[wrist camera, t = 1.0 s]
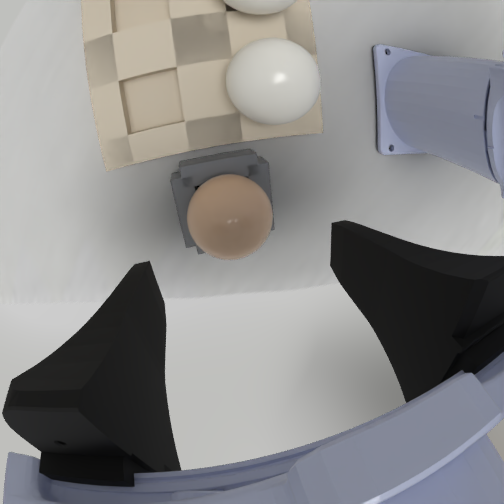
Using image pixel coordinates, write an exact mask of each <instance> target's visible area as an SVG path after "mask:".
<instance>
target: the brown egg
mask: <svg viewBox="0 0 504 504" xmlns="http://www.w3.org/2000/svg"><path fill="white" fill-rule="evenodd" d="M272 221H273V212H272V206H271V203H270V200H269V198H268V196H267V195H266V193H265V192H264V190H263V189H262V188H261V187H260V186H259V185H258V184H257V183H255V182H254V181H252V180H251V179H249V178H247V177H244V176H240V175H235V174H225V175H219V176H216V177H213V178H211V179H209V180H207V181H206V182H205V183H203V184H202V185H201V186H200V187H199V188H198V189H197V190H196V191H195V193H194V195H193V196H192V198H191V200H190V202H189V206H188V211H187V224H188V229H189V232H190V234H191V236H192V238H193V240H194V241H195V243H196V244H197V245H198V246H199V248H201V249H202V250H203V251H204V252H206V253H207V254H209V255H211V256H213V257H216V258H219V259H224V260H235V259H240V258H244V257H246V256H249V255H250V254H252V253H254V252H255V251H257V250H258V249H259V248H260V247H261V246H262V245H263V244H264V242H265V241H266V239H267V237H268V235H269V233H270V231H271V227H272Z"/></svg>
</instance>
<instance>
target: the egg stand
mask: <svg viewBox="0 0 504 504" xmlns="http://www.w3.org/2000/svg"><path fill="white" fill-rule="evenodd" d="M179 168H180V172H176V173H172V175H171V185H172V189H173V194H174V198H175V203H176V207H177V211H178V216H179V220H180V224H181V228H182V232H183V236H184V240H185V244H186V248H188V247H193V246H196V247H197V251H198V254H202V253H206V252H204V251H203V250H202V249H201V248H199V246H198V245H197V244H196V243H195V241H194V240H193V238H192V236H191V234H190V232H189V229H188V224H187V211H188V206H189V202H190V200H191V198H192V196H193V195H194V193H195V191H196V189H195V186H198V185H202V184H203V183H205V182H206V181H207V180H209V179H211V178H213V177H216V176H219V175H225V174H235V175H240V176H244V177H247V178H249V179H251V180H252V181H254V182H255V183H257V184H258V185H259V186H260V187H261V188H262V189H263V190H264V192H265V193H266V195H267V196H268V198H269V200H270V203H271V206H272V195H271V185H270V174H269V164H268V162H267V161H266V160H265V159H263V158H262V157H257V153H255V152H254V151H253V150H251V149H246V150H240V151H233V152H227V153H222V154H216V155H210V156H205V157H200V158H195V159H190V160H185V161H180V166H179ZM272 212H273V207H272ZM271 230H274V218H273V221H272V227H271Z"/></svg>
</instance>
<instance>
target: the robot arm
mask: <svg viewBox="0 0 504 504" xmlns="http://www.w3.org/2000/svg"><path fill="white" fill-rule="evenodd" d="M385 49H386V51H387V55H386V53H385ZM373 53H374V64H375V76H376V91H377V117H378V151H379V152H380V153H381V154H383V155H395V154H415V153H430V154H432V155H435V156H438V157H440V158H443V159H445V160H448V161H450V162H452V163H455V164H457V165H460V166H462V167H464V168H466V169H469V170H471V171H473V172H475V173H477V174H480V175H482V176H484V177H486V178H488V179H490V180H492V181H494V182H496V183H498V184H500V186H501V196H502V198H504V62H503V61H496V60H488V59H478V58H467V57H449V56H431V55H427V54H424V53H420V52H416V51H411V50H407V49H403V48H398V47H393V46H388V45H382V44H378V45H375V46H374V48H373ZM502 55H503V57H504V51H503V52H502ZM390 145H391V149H390V150H389V146H390ZM330 266H331V268H332V270H333V271H334V273H335V275H336V277H337V279H338V281H339V282H340V284H341V285H342V287H343V288H344V289H345V291H346V292H347V293H348V295H349V296H350V298H351V299H352V300H353V302H354V303H355V304H356V306H357V307H358V308H359V310H360V311H361V312H362V313H363V315H364V316H365V318H366V319H367V320H368V322H369V323H370V325H371V326H372V328H373V329H374V331H375V333H376V335H377V337H378V339H379V340H380V342H381V344H382V346H383V348H384V350H385V352H386V354H387V356H388V358H389V360H390V362H391V364H392V367H393V369H394V372H395V374H396V376H397V379H398V381H399V384H400V386H401V389H402V391H403V395H404V398H405V401H406V404H404V405H402V406H400V407H398V408H396V409H394V410H392V411H390V412H388V413H386V414H384V415H381V416H379V417H377V418H375V419H373V420H371V421H368V422H366V423H364V424H361V425H359V426H356V427H354V428H352V429H349V430H347V431H344V432H341V433H339V434H336V435H334V436H331V437H328V438H325V439H323V440H319V441H316V442H313V443H310V444H307V445H305V446H301V447H298V448H294V449H291V450H287V451H284V452H280V453H276V454H273V455H268V456H264V457H260V458H256V459H252V460H247V461H242V462H237V463H232V464H226V465H220V466H214V467H207V468H199V469H192V470H182V471H181V467H180V463H179V459H178V456H177V452H176V447H175V442H174V438H173V433H172V428H171V422H170V417H169V410H168V403H167V394H166V386H165V347H166V314H165V304H164V300H163V297H162V295H161V292H160V289H159V286H158V284H157V281H156V278H155V275H154V272H153V269H152V266H151V264H150V261H147V262H143V263H138V264H134V266H133V267H132V268H131V269H130V270H129V271H128V273H127V274H126V275H125V277H124V278H123V279H122V281H121V282H120V283H119V284H118V286H117V287H116V288H115V290H114V291H113V292H112V294H111V295H110V296H109V297H108V298H107V300H106V301H105V302H104V303H103V305H102V306H101V307H100V308H99V309H98V311H97V312H96V313H95V314H94V315H93V316H92V317H91V318H90V320H89V321H88V322H87V323H86V324H85V325H84V326H83V327H82V328H81V329H80V330H79V331H78V332H77V333H76V334H74V335H73V336H72V337H71V338H70V339H69V340H68V341H66V342H65V343H64V344H63V345H62V346H61V347H60V348H58V349H57V350H56V351H55V352H53V353H52V354H51V355H49V356H48V357H47V358H45V359H44V360H42V361H41V362H40V363H38V364H37V365H35V366H34V367H32V368H30V369H29V370H27V371H26V372H24V373H22V374H21V375H19V376H17V377H16V378H14V379H12V381H11V384H10V387H9V390H8V394H7V397H6V401H5V404H4V408H3V412H2V414H3V417H4V419H5V421H6V422H7V424H8V425H9V426H10V427H11V428H12V429H13V430H14V431H15V432H16V433H17V434H19V435H20V436H21V437H22V438H24V439H25V440H26V441H28V442H29V443H30V444H31V445H33V446H34V447H36V448H37V449H38V450H40V451H41V459H38V458H35V457H32V456H29V455H23V454H18V453H13V452H9V453H8V458H7V466H6V473H5V483H4V496H3V504H504V462H503V460H502V458H501V457H500V455H499V453H498V452H497V450H496V449H495V447H494V445H493V444H492V442H491V441H490V439H489V438H488V436H487V433H488V432H489V431H490V430H492V429H493V428H494V427H495V426H496V425H497V424H498V423H499V422H500V421H501V420H502V419H503V418H504V256H478V255H467V254H460V253H453V252H448V251H442V250H437V249H433V248H429V247H425V246H421V245H418V244H414V243H411V242H408V241H405V240H402V239H399V238H396V237H393V236H390V235H387V234H385V233H382V232H379V231H377V230H374V229H371V228H368V227H366V226H363V225H360V224H357V223H354V222H350V221H346V220H344V221H339V222H334V223H332V231H331V262H330Z"/></svg>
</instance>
